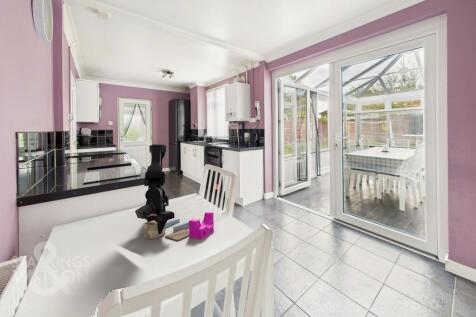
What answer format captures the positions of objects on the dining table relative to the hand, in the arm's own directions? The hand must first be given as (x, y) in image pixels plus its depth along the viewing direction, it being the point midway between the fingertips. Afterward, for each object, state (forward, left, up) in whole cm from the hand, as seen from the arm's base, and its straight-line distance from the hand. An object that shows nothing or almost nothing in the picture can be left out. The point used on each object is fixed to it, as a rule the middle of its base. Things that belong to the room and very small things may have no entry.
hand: (156, 232), depth 93 cm
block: (0, 0, -1) cm, 1 cm away
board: (+9, +6, -1) cm, 11 cm away
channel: (0, +12, -1) cm, 12 cm away
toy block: (+16, +14, -2) cm, 21 cm away
